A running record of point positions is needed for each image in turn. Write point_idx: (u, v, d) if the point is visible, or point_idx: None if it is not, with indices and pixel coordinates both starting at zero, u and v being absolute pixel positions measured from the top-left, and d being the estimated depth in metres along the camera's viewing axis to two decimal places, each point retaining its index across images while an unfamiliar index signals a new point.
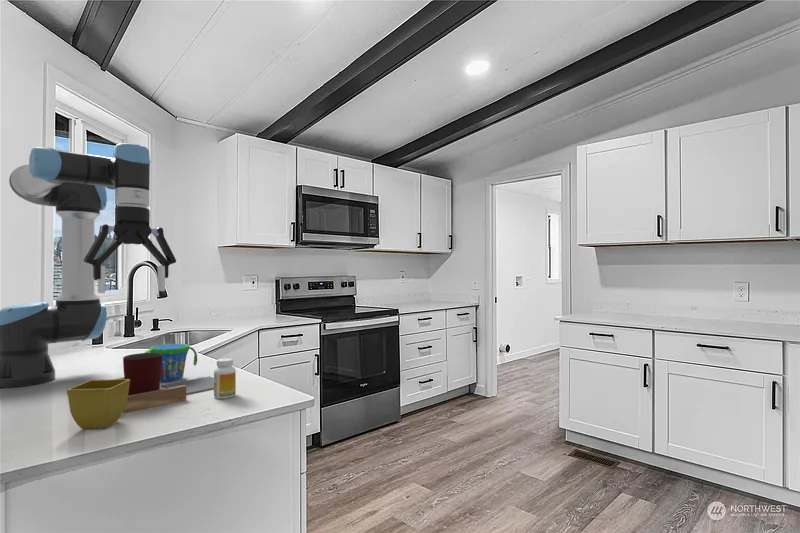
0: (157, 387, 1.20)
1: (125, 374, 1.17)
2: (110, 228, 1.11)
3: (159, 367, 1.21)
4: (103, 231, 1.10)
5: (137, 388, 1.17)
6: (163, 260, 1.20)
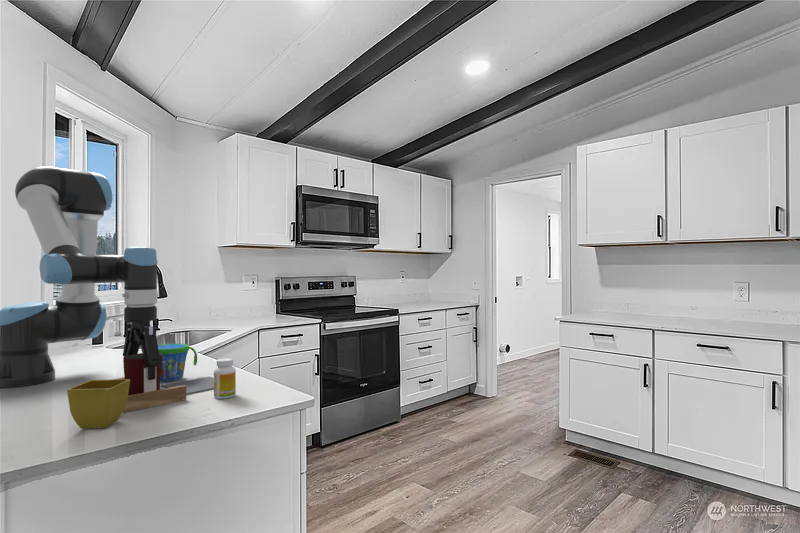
0: (157, 387, 1.20)
1: (125, 374, 1.17)
2: None
3: (159, 367, 1.21)
4: (126, 329, 1.25)
5: (138, 388, 1.17)
6: (145, 361, 1.17)
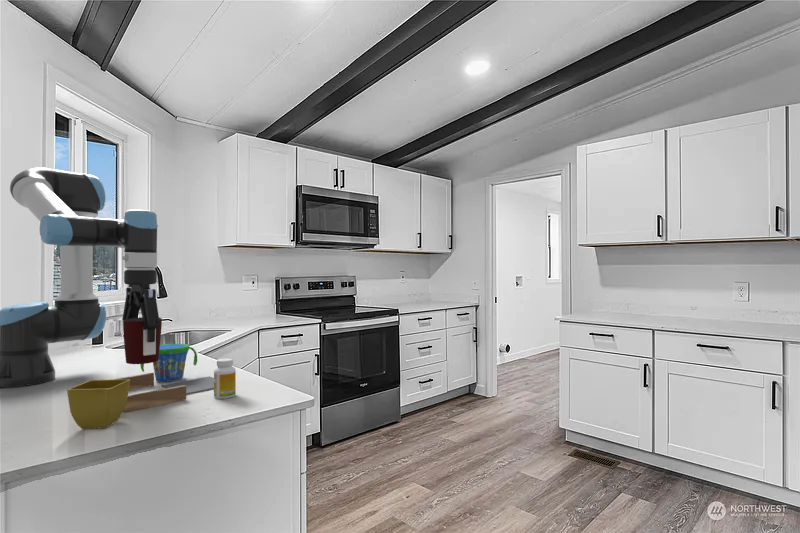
0: (156, 350, 1.20)
1: (125, 336, 1.17)
2: (131, 290, 1.25)
3: (159, 331, 1.21)
4: (126, 293, 1.25)
5: (137, 350, 1.17)
6: (144, 323, 1.17)
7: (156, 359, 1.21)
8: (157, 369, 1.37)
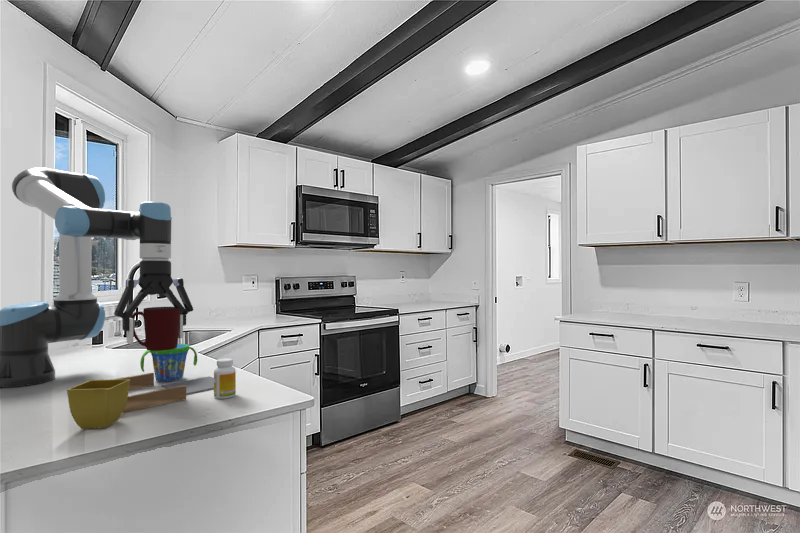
0: None
1: (169, 324, 1.23)
2: (135, 282, 1.20)
3: None
4: (129, 286, 1.19)
5: (177, 335, 1.26)
6: (181, 309, 1.28)
7: None
8: (157, 369, 1.37)
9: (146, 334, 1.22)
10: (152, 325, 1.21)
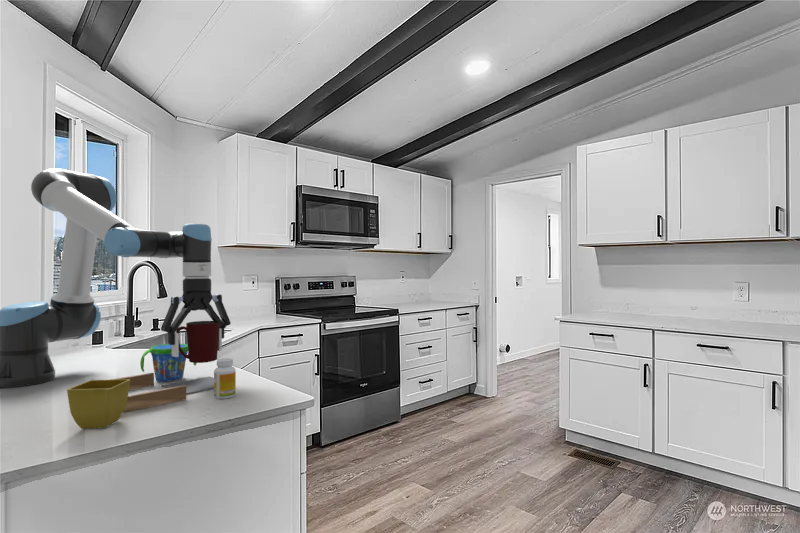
0: None
1: (211, 337, 1.31)
2: (180, 299, 1.29)
3: None
4: (175, 303, 1.27)
5: (217, 347, 1.35)
6: (220, 323, 1.37)
7: None
8: (157, 369, 1.37)
9: (189, 347, 1.31)
10: (196, 339, 1.30)
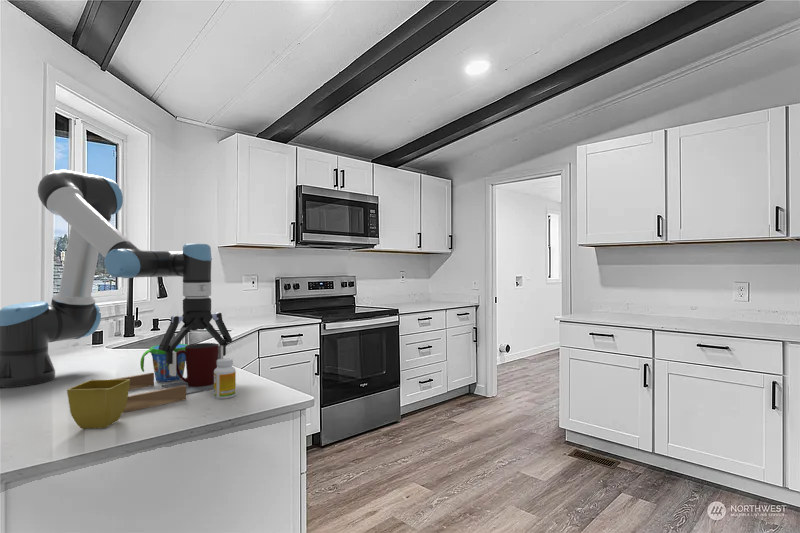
0: None
1: (209, 361, 1.31)
2: (180, 318, 1.29)
3: None
4: (175, 322, 1.27)
5: None
6: (222, 341, 1.37)
7: None
8: (157, 369, 1.37)
9: (188, 371, 1.31)
10: (194, 363, 1.30)
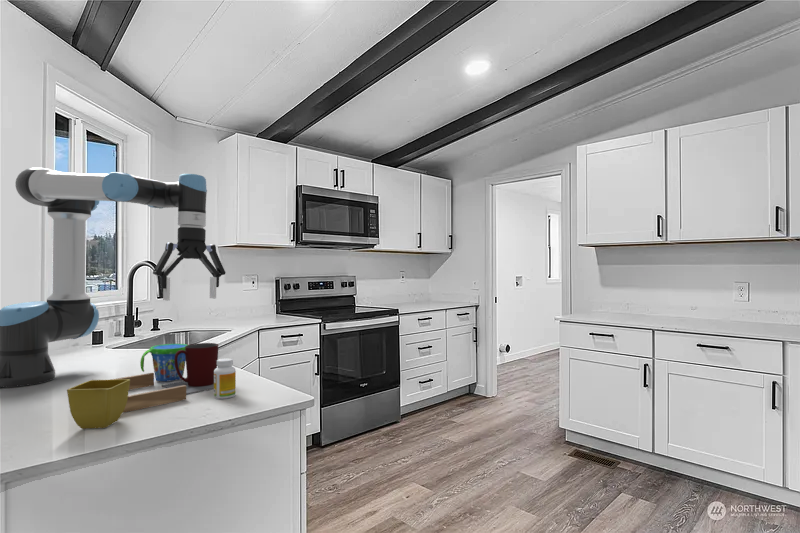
0: None
1: (209, 361, 1.31)
2: (174, 245, 1.32)
3: None
4: (169, 248, 1.31)
5: None
6: (215, 272, 1.41)
7: None
8: (157, 369, 1.37)
9: (188, 371, 1.31)
10: (194, 363, 1.30)
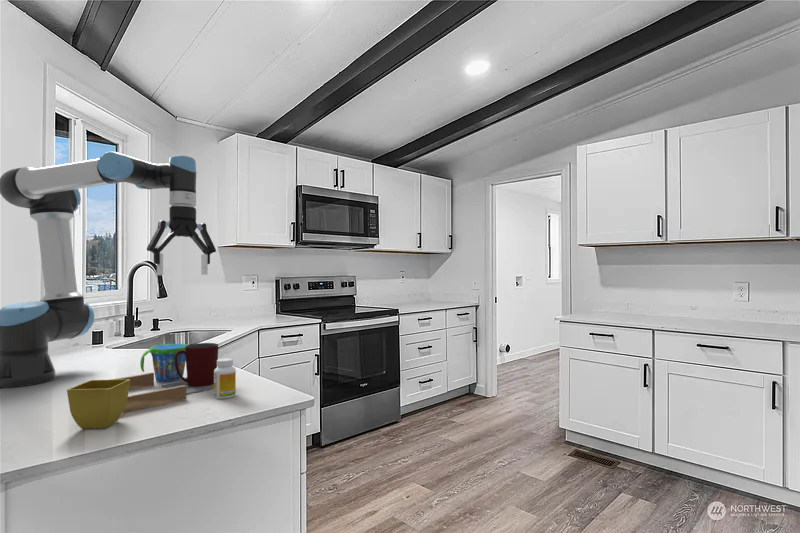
0: None
1: (209, 361, 1.31)
2: (166, 223, 1.40)
3: None
4: (161, 226, 1.38)
5: None
6: (206, 249, 1.48)
7: None
8: (157, 369, 1.37)
9: (188, 371, 1.31)
10: (194, 363, 1.30)
